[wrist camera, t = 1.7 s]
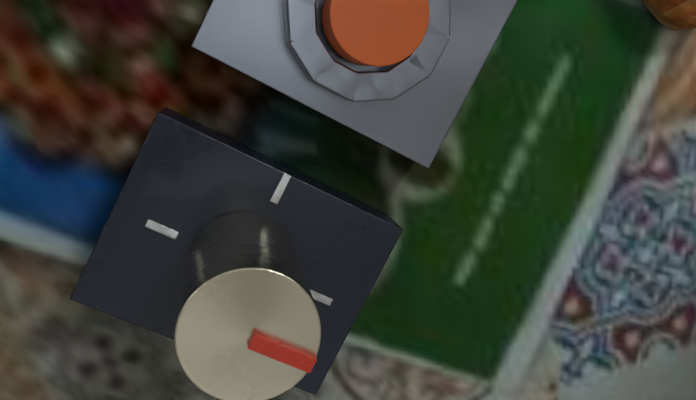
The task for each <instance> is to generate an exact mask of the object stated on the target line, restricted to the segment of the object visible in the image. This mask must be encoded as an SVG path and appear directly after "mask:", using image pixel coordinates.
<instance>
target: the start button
mask: <svg viewBox="0 0 696 400" xmlns="http://www.w3.org/2000/svg"><path fill="white" fill-rule="evenodd" d="M322 23H323V28H324V32H325V35H326V37H327V39H328V41H329V43H330V45H331V46H332V47H333V49H334V50H335V51H336V52H337V53H338V54H339V55H340V56H342V57H343V58H345V59H346V60H348V61H350V62H352V63H355V64H358V65H364V66H389V65H393V64H396V63H398V62H400V61H402V60H404V59H406V58H407V57H408V56H410V55H411V54H412V53H413V52H414V51H415V50H416V49H417V48H418V46H419V45H420V43H421V42H422V40H423V38H424V36H425V34H426V31H427V28H428V23H429V3H428V0H324V4H323V9H322Z"/></svg>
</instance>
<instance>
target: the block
mask: <svg viewBox="0 0 696 400" xmlns="http://www.w3.org/2000/svg"><path fill="white" fill-rule="evenodd" d="M516 2H517V0H428V3H429V23H428V28H427V31H426V34H425V36H424V38H423V40H422V42H421V43H420V45H419V46H418V48H417V49H416V50H415V51H414V52H413V53H412V54H411V55H410V56H408V57H407V58H406V59H404V60H402V61H400V62H398V63H396V64H393V65H389V66H364V65H358V64H355V63H352V62H350V61H348V60H346V59H345V58H343V57H342V56H340V55H339V54H338V53H337V52H336V51H335V50H334V49H333V47H332V46H331V45H330V43H329V41H328V39H327V37H326V35H325V32H324V28H323V23H322V9H323V4H324V0H212V2H211V5H210V7H209V9H208V11H207V13H206V15H205V17H204V19H203V21H202V23H201V26H200V28H199V30H198V32H197V34H196V36H195V38H194V40H193V42H192V45H191V47H192V48H194V49H196V50H198V51H200V52H202V53H204V54H206V55H208V56H210V57H212V58H214V59H216V60H218V61H220V62H222V63H224V64H225V65H227V66H229V67H231V68H233V69H235V70H237V71H239V72H241V73H243V74H245V75H247V76H249V77H251V78H253V79H255V80H257V81H259V82H261V83H262V84H264V85H266V86H268V87H270V88H272V89H274V90H276V91H278V92H280V93H282V94H284V95H286V96H288V97H290V98H292V99H294V100H296V101H298V102H299V103H301V104H303V105H305V106H307V107H309V108H311V109H313V110H315V111H317V112H319V113H321V114H323V115H325V116H327V117H329V118H331V119H333V120H334V121H336V122H338V123H340V124H342V125H344V126H346V127H348V128H350V129H352V130H354V131H356V132H358V133H360V134H362V135H364V136H366V137H368V138H370V139H371V140H373V141H375V142H377V143H379V144H381V145H383V146H385V147H387V148H389V149H391V150H393V151H395V152H397V153H399V154H401V155H403V156H405V157H407V158H408V159H410V160H412V161H414V162H416V163H418V164H420V165H422V166H424V167H426V168H429V167H430V165H431V163H432V161H433V159H434V158H435V156H436V154H437V152H438V150H439V148H440V146H441V144H442V142H443V140H444V139H445V137H446V135H447V133H448V131H449V129H450V127H451V125H452V123H453V122H454V120H455V118H456V116H457V114H458V112H459V110H460V108H461V106H462V105H463V103H464V101H465V99H466V97H467V95H468V93H469V91H470V89H471V87H472V86H473V84H474V82H475V80H476V78H477V76H478V74H479V72H480V70H481V69H482V67H483V65H484V63H485V61H486V59H487V57H488V55H489V53H490V52H491V50H492V48H493V46H494V44H495V42H496V40H497V38H498V36H499V35H500V33H501V31H502V29H503V27H504V25H505V23H506V21H507V19H508V17H509V16H510V14H511V12H512V10H513V8H514V6H515V4H516Z"/></svg>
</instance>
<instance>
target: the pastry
mask: <svg viewBox="0 0 696 400" xmlns="http://www.w3.org/2000/svg"><path fill="white" fill-rule="evenodd" d="M642 1H643V3H644V5H645V7H646V8H647V9H648V10H649V11H650V12H651V13H652V14H653V15H654V17H655V18H656V19H657V20H658V21H659V22H660V23H661V24H662V25H664V26H666V27H668V28H670V29H673V30H685V29H694V28H696V0H642Z"/></svg>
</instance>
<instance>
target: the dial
mask: <svg viewBox="0 0 696 400" xmlns="http://www.w3.org/2000/svg"><path fill="white" fill-rule="evenodd" d="M320 342H321V321H320V317H319V313H318V310H317V307H316V304H315V302H314V299H313V296H312V294H311V291H310V288H309V286H308V283H307V280H306V278H305V275H304V272H303V269H302V267H301V264H300V261H299V259H298V256H297V253H296V251H295V248H294V245H293V243H292V241H291V239H290V237H289V235H288V234H287V233H286V231H285V230H284V229H283V228H282V227H281V226H280V225H279V224H278V223H276V222H275V221H274V220H272V219H270V218H268V217H266V216H264V215H261V214H258V213H254V212H233V213H229V214H225V215H222V216H220V217H217V218H216V219H214V220H212V221H211V222H209V223H208V224H207V225H205V226H204V227H203V228H202V229H201V230H200V232H199V233H198V234H197V235H196V237H195V239H194V240H193V242H192V244H191V247H190V250H189V254H188V258H187V264H186V269H185V275H184V280H183V286H182V292H181V297H180V303H179V308H178V314H177V319H176V325H175V333H174V345H175V351H176V355H177V358H178V361H179V364H180V366H181V368H182V370H183V371H184V373H185V374H186V375H187V377H188V378H189V379H190V380H191V381H192V382H193V384H194V385H196V386H197V387H198V388H199V389H201V390H202V391H204V392H205V393H207V394H208V395H210V396H213V397H215V398H217V399H220V400H269V399H272V398H274V397H277V396H279V395H281V394H283V393H285V392H286V391H288V390H289V389H291V388H292V387H293V386H295V385H296V384H297V383H298V382H299V381H300V380H301V379H302V378H303V377H304V376H305V375H306V373H311V371H312V369H313V367H314V365H315V363H316V361H317V357H316V356H317V354H318V351H319V347H320Z"/></svg>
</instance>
